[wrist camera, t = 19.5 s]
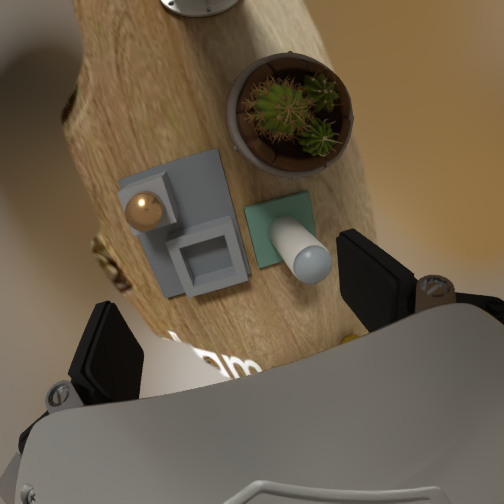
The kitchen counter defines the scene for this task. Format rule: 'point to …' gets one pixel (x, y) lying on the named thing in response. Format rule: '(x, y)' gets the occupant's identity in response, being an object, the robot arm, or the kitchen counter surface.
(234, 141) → the flowerpot
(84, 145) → the kitchen counter surface
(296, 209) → the mat
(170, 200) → the grey base with tray
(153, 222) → the plunger
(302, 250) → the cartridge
